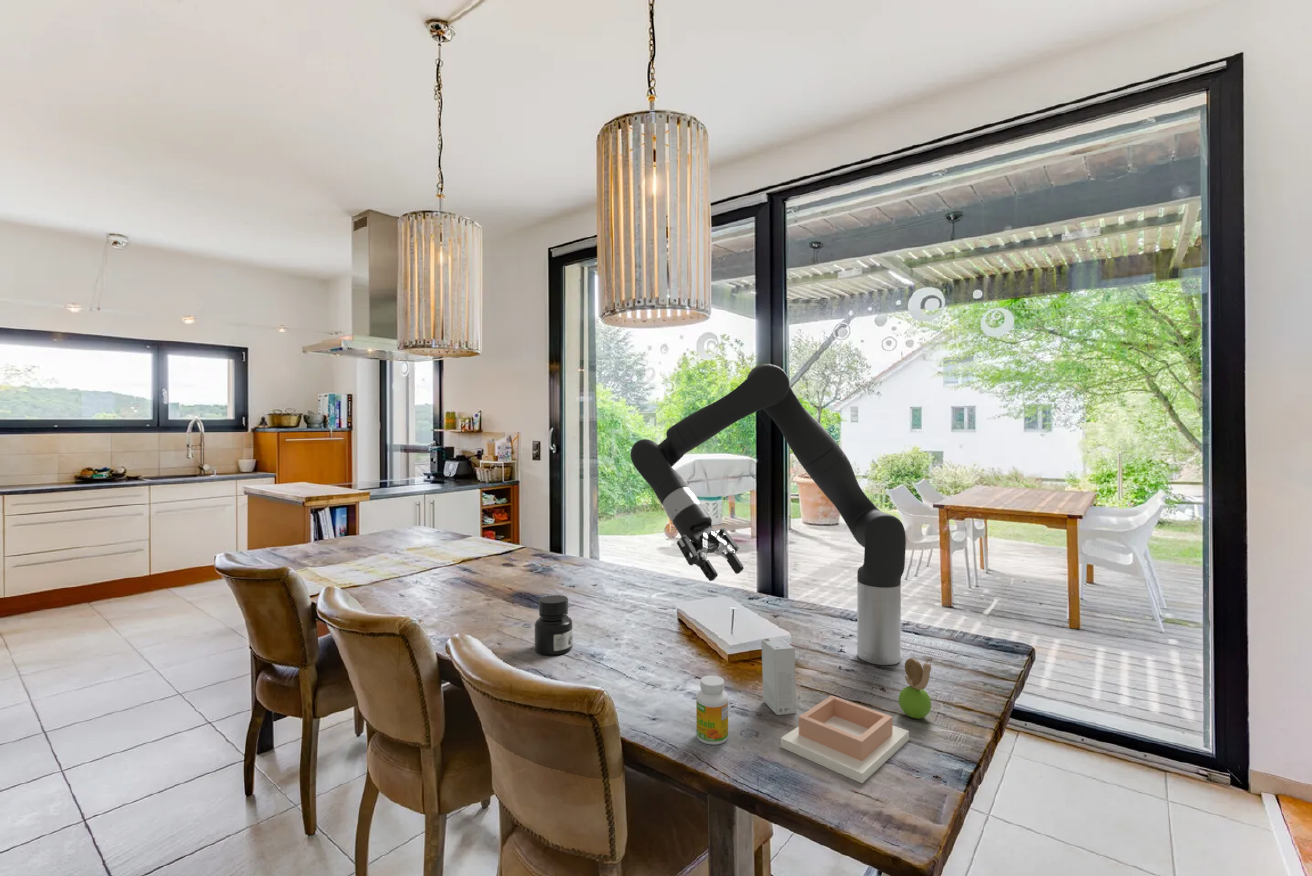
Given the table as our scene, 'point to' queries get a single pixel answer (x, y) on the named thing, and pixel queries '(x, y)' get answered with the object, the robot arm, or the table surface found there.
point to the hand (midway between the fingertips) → (727, 575)
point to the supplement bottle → (712, 711)
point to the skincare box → (779, 676)
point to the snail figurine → (916, 689)
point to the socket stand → (845, 738)
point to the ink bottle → (553, 626)
